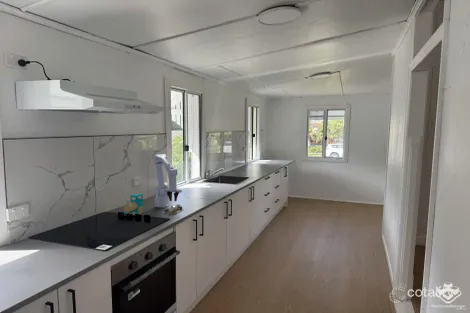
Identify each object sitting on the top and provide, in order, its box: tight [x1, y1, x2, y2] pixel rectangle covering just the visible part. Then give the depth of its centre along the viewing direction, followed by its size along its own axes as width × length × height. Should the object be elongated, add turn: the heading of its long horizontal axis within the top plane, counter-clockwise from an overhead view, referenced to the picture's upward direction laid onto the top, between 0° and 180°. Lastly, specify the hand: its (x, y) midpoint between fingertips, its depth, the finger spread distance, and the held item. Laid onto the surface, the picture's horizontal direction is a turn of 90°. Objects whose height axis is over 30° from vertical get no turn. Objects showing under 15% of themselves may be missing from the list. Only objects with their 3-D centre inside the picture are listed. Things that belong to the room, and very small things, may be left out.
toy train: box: [123, 193, 145, 216], centre depth 232 cm, size 8×17×15 cm, turn 159°
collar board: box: [163, 205, 184, 215], centre depth 242 cm, size 10×14×4 cm
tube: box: [167, 203, 181, 213], centre depth 241 cm, size 14×4×4 cm
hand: (173, 201), depth 242 cm, fingers open, 4 cm apart
